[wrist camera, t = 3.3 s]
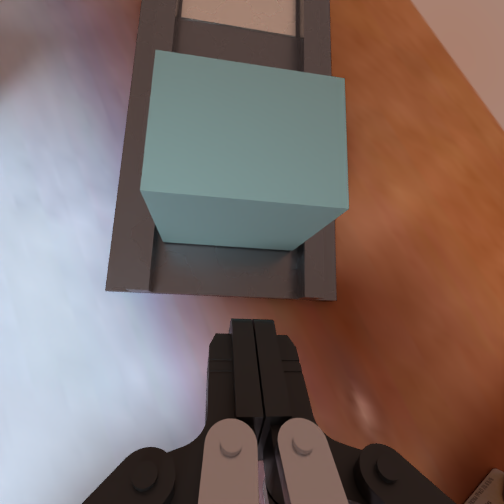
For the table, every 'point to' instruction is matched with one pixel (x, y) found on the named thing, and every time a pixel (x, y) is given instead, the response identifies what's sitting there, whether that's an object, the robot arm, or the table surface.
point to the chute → (129, 195)
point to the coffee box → (489, 490)
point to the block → (243, 153)
